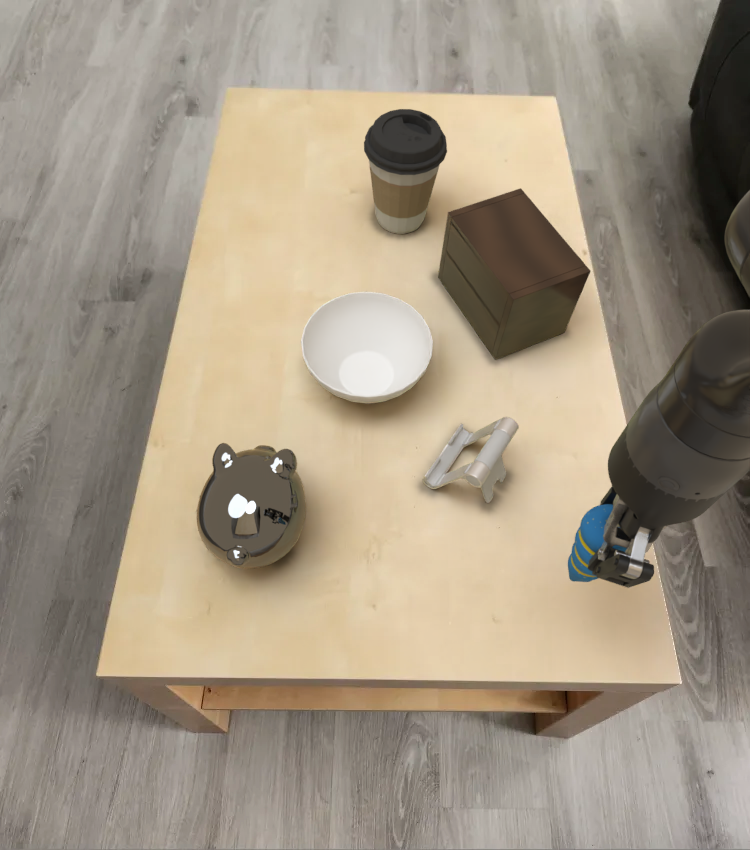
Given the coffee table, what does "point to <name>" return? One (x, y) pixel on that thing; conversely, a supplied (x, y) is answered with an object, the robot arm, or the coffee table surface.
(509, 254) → the wooden drawer cabinet
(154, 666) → the coffee table surface
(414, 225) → the coffee cup
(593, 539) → the ornament
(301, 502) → the piggy bank
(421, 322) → the bowl
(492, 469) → the tablet stand
